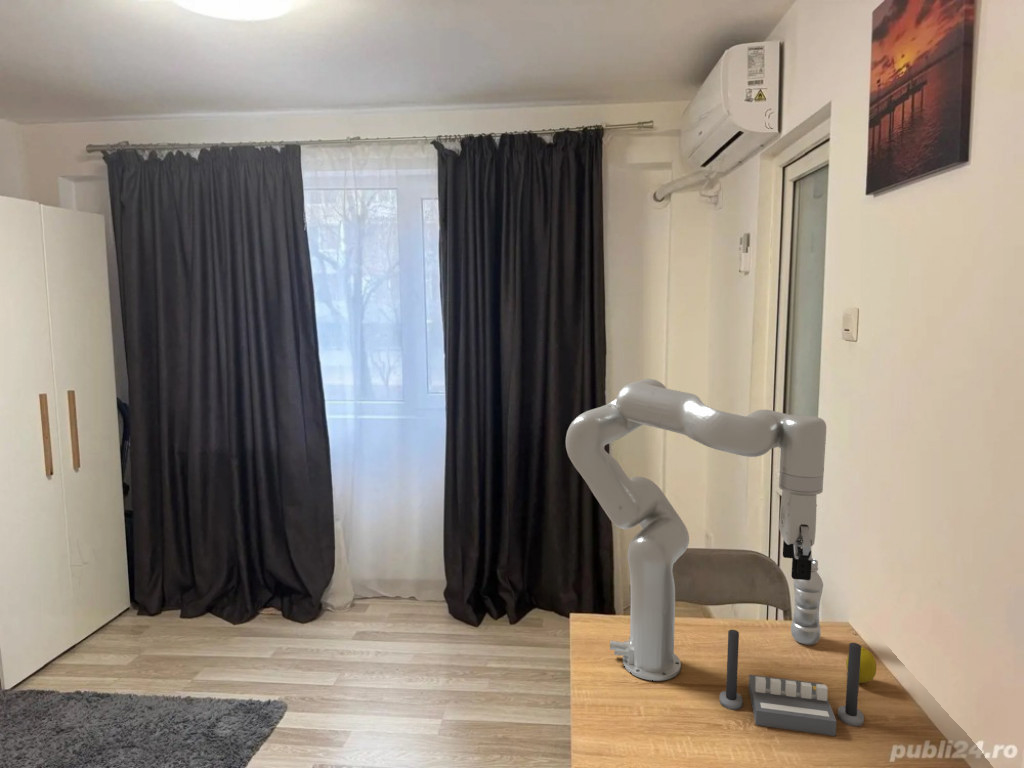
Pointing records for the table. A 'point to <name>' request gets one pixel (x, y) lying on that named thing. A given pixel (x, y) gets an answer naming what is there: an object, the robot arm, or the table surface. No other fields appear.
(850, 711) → the cord post right
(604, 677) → the table surface
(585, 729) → the table surface
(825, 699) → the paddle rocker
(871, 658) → the lemon
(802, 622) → the plastic bottle
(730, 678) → the cord post left
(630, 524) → the robot arm
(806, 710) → the breaker panel
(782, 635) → the table surface
